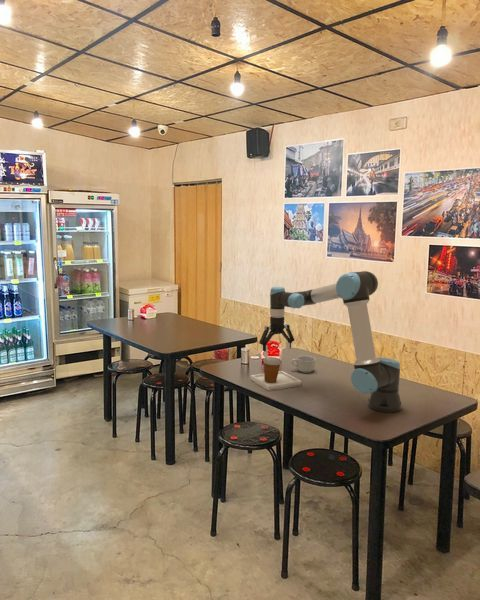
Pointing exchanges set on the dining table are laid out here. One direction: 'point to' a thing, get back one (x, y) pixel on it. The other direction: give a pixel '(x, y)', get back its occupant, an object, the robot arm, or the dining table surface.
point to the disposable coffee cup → (271, 369)
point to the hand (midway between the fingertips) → (276, 355)
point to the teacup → (304, 363)
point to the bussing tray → (281, 383)
